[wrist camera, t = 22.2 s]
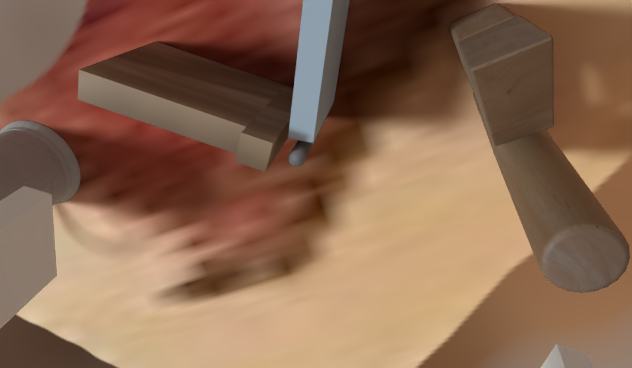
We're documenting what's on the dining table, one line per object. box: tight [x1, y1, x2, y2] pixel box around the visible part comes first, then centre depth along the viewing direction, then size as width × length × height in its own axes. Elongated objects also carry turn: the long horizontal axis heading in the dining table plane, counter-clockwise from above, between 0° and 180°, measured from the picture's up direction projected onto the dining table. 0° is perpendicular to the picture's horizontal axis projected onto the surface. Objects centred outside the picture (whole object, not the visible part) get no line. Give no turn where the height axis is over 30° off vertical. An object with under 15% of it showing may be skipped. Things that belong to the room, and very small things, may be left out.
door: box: [288, 0, 350, 143], centre depth 31 cm, size 3×12×9 cm, turn 172°
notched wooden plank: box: [78, 42, 329, 172], centre depth 33 cm, size 2×15×11 cm, turn 74°
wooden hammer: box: [449, 3, 630, 293], centre depth 27 cm, size 4×11×18 cm, turn 26°
